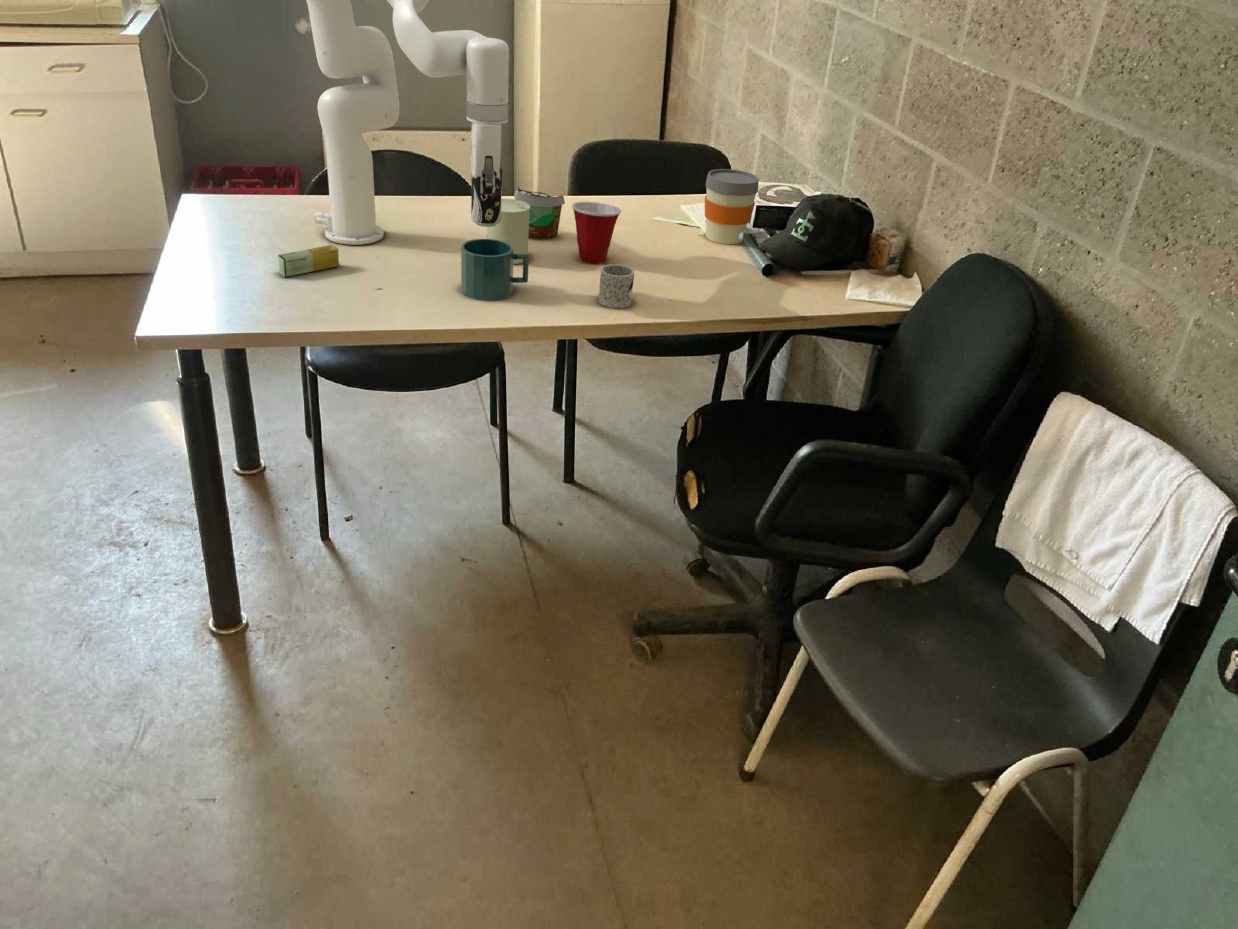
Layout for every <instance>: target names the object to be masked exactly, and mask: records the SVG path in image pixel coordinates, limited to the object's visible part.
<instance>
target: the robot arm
mask: <svg viewBox="0 0 1238 929" xmlns="http://www.w3.org/2000/svg"><path fill="white" fill-rule="evenodd" d="M305 2H306V4H307V8H308V9H307V10H308V15H309V21H310V22H309V23H310V28H311V33H312V34H311V35H312V39H313V46H314V49H315V51H314V52H315V56H316V61H317V64H318V67H319V70H320V71H321V73H322V74H323V75H324V76H326V77H327V78H330V79H335V80H341V79H352V78H360V77H362V81H363V83H357V84H356V83H354V84H353V83H352V84H347V85H346V84H345V85H339V86H333V87H330V88H328V89H326V90H324V92H322V94H321V95H320V96H319V98H318V101H317V115H318V119H319V122H320V126H321V130H322V135H323V141H324V146H325V156H326V157H325V158H326V167H327V168H326V169H327V182H328V195H329V208H330V211H329V212H328V213H325V212H321V211H315V213H314V220H315V221H314V222H315V224H320V225H325V226H326V228H325V229H324V237H325V238H326V239H327V240H329V241H331V242H333V243H338V244H341V245H354V246H355V245H356V246H359V245H367V244H373V243H376V242H379V241H380V240H382V239H383V238H384V229H383V228H382V227H380V226H379V225H377V219H376V218H377V217H376V216H377V215H376V198H375V178H374V177H375V176H374V160H373V153H372V150H371V149H370V147H369V145H368V143H367V142H366V140H365V139H364V137H363V134H365V133H368V132H369V133H370V132H376V131H381V130H386V129H389V128H392V127H393V126H394V125H395V124H396V123H397V122H398V120H399V117H400V110H401V108H400V97H399V96H400V95H399V90H398V83H397V75H396V74H397V73H396V68H395V60H394V54H393V50H392V47H391V44H390V42H389V40H388V38H387V36H386V35H385V34H384V33H383V32H382V30H380V29H379V28H377V27H374V26H371V25H361V26H357V25H356V23H355V17H354V11H353V5H352V2H351V0H306V1H305ZM386 2H387V3H388V4H389V5H390V6H391V8H392V9H393V10H392V27H393V31H394V36H395V40H396V42H397V44H398V46H399V47H400V49H401V51H402V52H403V54H404V55H405V56H406V58H408V60H409V61H410V62H411V64H412V65H413V66H414V67H415V68H416V69H417V70H418V71H419V72H420V73H422V74H423V75H425V76H427V77H429V78H432V79H440V78H448V77H449V78H450V77H456V76H466V120H467V121H468V122H470V123H471V134H470V169H471V170H472V175H473V177H474V178H477V177H480V194H483V209H484V194H495V178H496V179H497V178H498V177H499V173H500V168H501V155H502V154H501V153H502V125H505V124H507V123H508V121H509V81H510V80H509V79H510V78H509V77H510V76H509V72H510V71H509V70H510V67H509V66H510V48H509V45H508V43H507V42H506V41H505V40H503V39H499V38H495V37H488V36H485V35H484V34H481V33H479V32H477V31H475V30H471V29H459V30H444V31H443V30H442V31H431V30H430V29H429V28H428V26H427V25H426V24H425V23H424V22H423V20H422V19H421V18H420V17H419V13H420V12H422V11H423V10H424V9H425V8H426V7H427V5H428V3H429V2H430V0H386ZM482 171H483V174H485V178H484V177H482ZM495 172H497V173H496V174H495ZM492 174H493V178H492ZM483 181H485V182H484V183H483ZM491 209H492V196H491Z"/></svg>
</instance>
